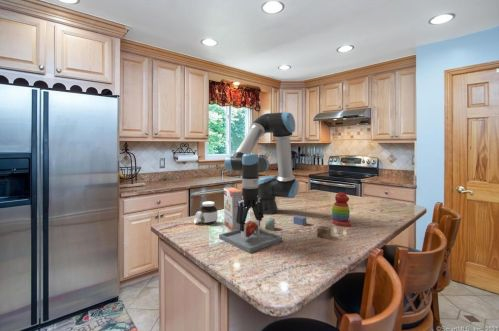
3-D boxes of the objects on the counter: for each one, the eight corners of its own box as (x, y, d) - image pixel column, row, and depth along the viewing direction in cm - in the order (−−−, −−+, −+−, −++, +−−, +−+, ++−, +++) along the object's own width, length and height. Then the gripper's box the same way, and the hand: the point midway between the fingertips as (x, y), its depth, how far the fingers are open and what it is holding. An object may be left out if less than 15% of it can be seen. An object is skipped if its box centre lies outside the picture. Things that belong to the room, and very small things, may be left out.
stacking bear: (352, 227, 143) (353, 194, 141) (332, 225, 145) (333, 193, 143) (348, 221, 153) (349, 191, 152) (330, 220, 155) (331, 190, 154)
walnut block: (317, 237, 127) (317, 228, 126) (320, 234, 131) (320, 225, 130) (327, 239, 124) (327, 230, 124) (330, 236, 128) (330, 227, 128)
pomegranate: (258, 238, 126) (243, 224, 129) (265, 228, 123) (250, 214, 126) (250, 245, 120) (235, 229, 123) (258, 235, 116) (242, 219, 119)
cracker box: (223, 224, 147) (223, 187, 145) (233, 223, 149) (233, 186, 147) (231, 232, 134) (231, 191, 132) (242, 230, 136) (242, 190, 134)
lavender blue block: (293, 223, 149) (293, 216, 149) (297, 222, 152) (297, 215, 152) (302, 225, 145) (302, 218, 145) (306, 224, 148) (306, 217, 148)
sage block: (263, 228, 140) (263, 219, 140) (269, 226, 143) (269, 217, 143) (269, 230, 136) (269, 221, 136) (276, 228, 140) (276, 219, 139)
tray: (219, 238, 125) (219, 234, 125) (250, 229, 138) (250, 226, 138) (249, 253, 108) (249, 248, 108) (282, 241, 121) (282, 237, 121)
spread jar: (219, 223, 150) (219, 202, 149) (203, 227, 141) (203, 206, 140) (206, 218, 158) (206, 199, 157) (190, 223, 150) (190, 202, 149)
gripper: (238, 190, 112) (238, 243, 113) (271, 186, 125) (271, 232, 127) (227, 188, 117) (227, 238, 119) (260, 184, 130) (260, 229, 132)
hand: (250, 235), depth 123 cm, fingers closed on pomegranate, 7 cm apart
